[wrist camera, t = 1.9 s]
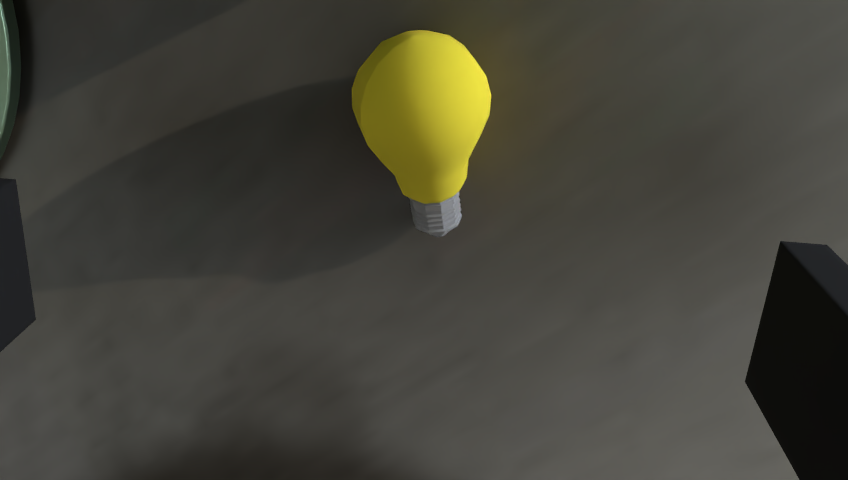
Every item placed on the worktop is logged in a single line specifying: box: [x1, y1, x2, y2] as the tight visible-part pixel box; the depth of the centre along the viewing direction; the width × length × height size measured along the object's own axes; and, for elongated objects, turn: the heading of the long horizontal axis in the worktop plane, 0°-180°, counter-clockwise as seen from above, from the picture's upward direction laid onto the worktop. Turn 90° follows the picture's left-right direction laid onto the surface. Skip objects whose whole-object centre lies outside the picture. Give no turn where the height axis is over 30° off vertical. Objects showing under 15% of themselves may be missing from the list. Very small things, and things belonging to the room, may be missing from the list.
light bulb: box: [352, 30, 491, 237], centre depth 21 cm, size 3×6×4 cm, turn 6°
